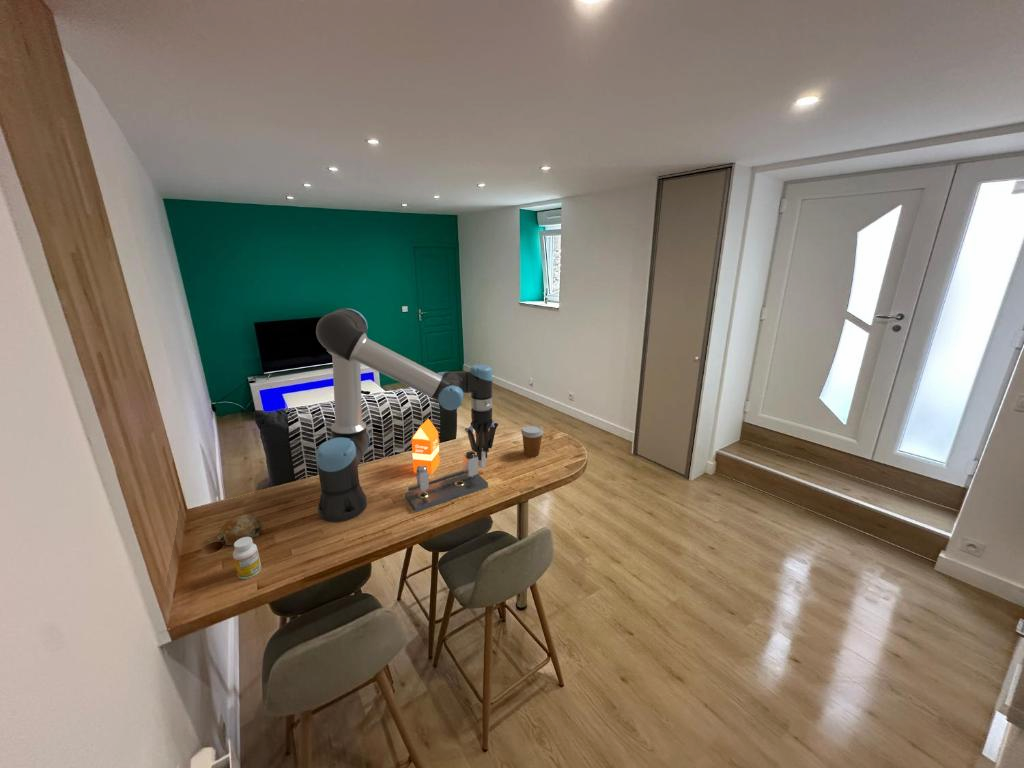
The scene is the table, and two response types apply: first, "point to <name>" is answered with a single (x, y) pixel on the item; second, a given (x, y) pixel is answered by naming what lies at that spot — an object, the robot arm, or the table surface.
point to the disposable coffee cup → (532, 439)
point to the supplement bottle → (246, 558)
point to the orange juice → (426, 447)
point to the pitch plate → (441, 488)
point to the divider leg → (470, 464)
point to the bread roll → (239, 529)
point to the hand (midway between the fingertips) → (482, 466)
